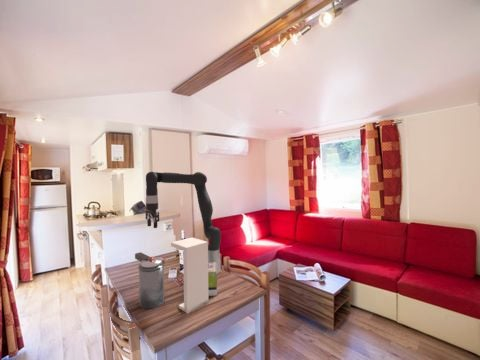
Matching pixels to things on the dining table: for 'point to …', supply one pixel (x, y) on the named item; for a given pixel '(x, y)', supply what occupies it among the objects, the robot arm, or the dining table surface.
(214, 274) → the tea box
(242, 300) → the dining table surface
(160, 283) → the grey glass jar
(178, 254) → the frying pan
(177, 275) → the dining table surface
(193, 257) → the white bookcase side
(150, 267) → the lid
